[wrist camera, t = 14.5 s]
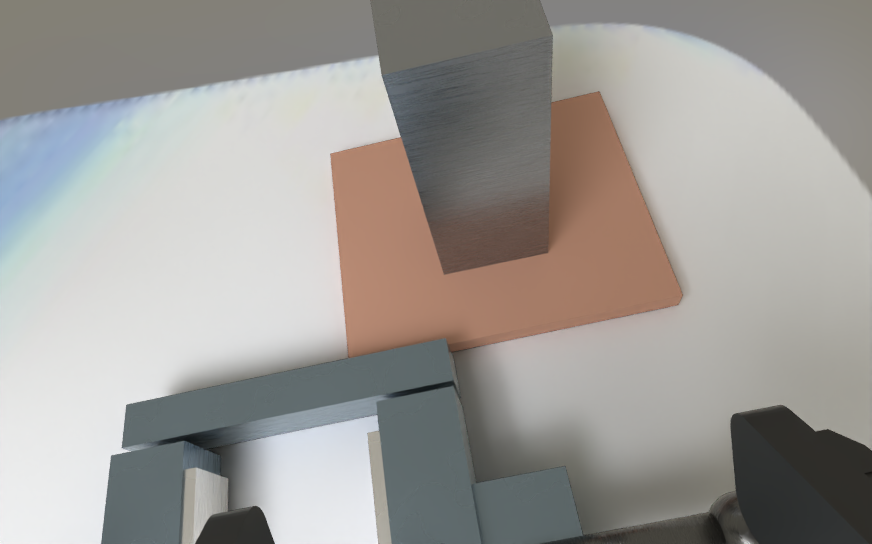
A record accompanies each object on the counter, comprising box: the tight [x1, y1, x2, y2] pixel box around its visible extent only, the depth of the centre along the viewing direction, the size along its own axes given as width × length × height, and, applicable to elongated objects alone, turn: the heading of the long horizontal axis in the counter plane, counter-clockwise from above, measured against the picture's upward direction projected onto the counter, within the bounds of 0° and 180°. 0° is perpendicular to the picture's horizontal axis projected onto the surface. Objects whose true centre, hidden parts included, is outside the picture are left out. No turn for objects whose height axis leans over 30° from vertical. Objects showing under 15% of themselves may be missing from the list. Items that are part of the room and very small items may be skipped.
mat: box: [330, 92, 683, 358], centre depth 24 cm, size 12×10×1 cm
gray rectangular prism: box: [371, 0, 553, 275], centre depth 20 cm, size 4×7×10 cm, turn 9°
